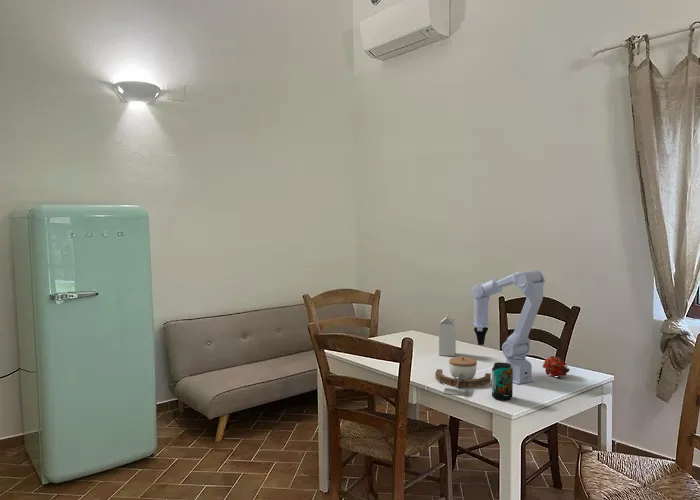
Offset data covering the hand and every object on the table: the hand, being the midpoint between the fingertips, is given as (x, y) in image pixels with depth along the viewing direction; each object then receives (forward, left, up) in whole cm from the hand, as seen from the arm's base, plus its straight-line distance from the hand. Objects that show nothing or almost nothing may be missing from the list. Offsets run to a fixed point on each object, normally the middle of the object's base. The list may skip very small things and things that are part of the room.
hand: (480, 344), depth 221 cm
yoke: (-14, +22, -10) cm, 28 cm away
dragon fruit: (-22, -20, -11) cm, 32 cm away
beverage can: (-32, +18, -11) cm, 38 cm away
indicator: (-17, +25, -8) cm, 32 cm away
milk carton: (+27, -3, -11) cm, 29 cm away
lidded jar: (-8, +16, -11) cm, 21 cm away
